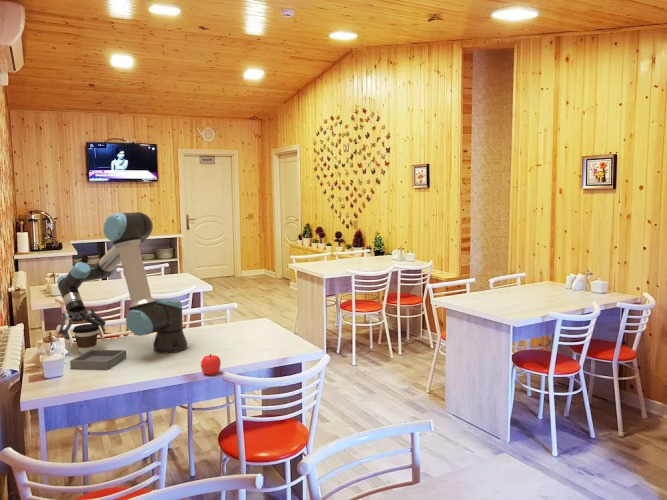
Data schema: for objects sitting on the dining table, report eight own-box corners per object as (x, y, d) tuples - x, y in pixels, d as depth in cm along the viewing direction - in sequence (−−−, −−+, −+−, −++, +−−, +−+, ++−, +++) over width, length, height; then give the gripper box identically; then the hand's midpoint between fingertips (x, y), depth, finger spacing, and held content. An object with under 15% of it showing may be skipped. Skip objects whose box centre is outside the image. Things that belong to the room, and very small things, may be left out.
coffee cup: (68, 354, 245) (66, 328, 243) (88, 347, 254) (87, 322, 253) (85, 357, 240) (84, 330, 239) (105, 350, 250) (104, 325, 249)
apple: (196, 375, 215) (196, 355, 214) (208, 369, 222) (207, 350, 221) (214, 377, 212) (213, 357, 211) (225, 371, 219) (224, 352, 218)
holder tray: (91, 357, 240) (91, 349, 239) (126, 358, 238) (125, 350, 238) (70, 369, 224) (70, 360, 224) (107, 369, 222) (107, 361, 222)
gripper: (99, 304, 265) (113, 340, 256) (43, 313, 248) (56, 351, 239) (102, 295, 261) (117, 331, 252) (46, 303, 244) (60, 342, 234)
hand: (88, 341), depth 245 cm, fingers open, 13 cm apart
